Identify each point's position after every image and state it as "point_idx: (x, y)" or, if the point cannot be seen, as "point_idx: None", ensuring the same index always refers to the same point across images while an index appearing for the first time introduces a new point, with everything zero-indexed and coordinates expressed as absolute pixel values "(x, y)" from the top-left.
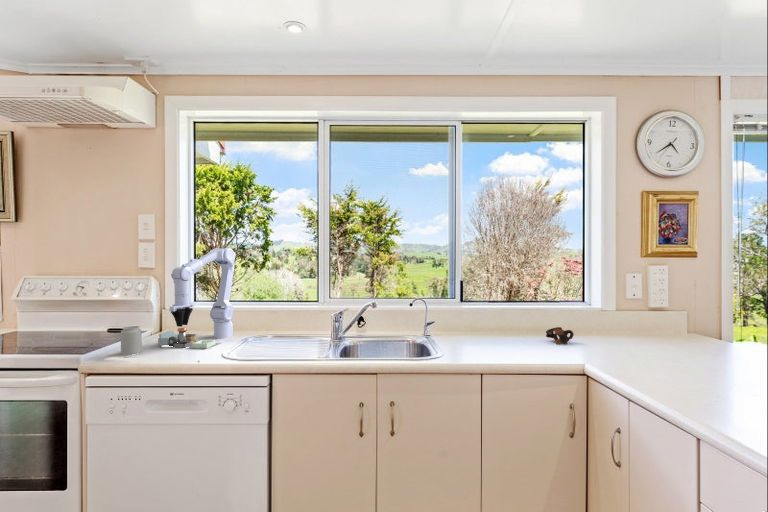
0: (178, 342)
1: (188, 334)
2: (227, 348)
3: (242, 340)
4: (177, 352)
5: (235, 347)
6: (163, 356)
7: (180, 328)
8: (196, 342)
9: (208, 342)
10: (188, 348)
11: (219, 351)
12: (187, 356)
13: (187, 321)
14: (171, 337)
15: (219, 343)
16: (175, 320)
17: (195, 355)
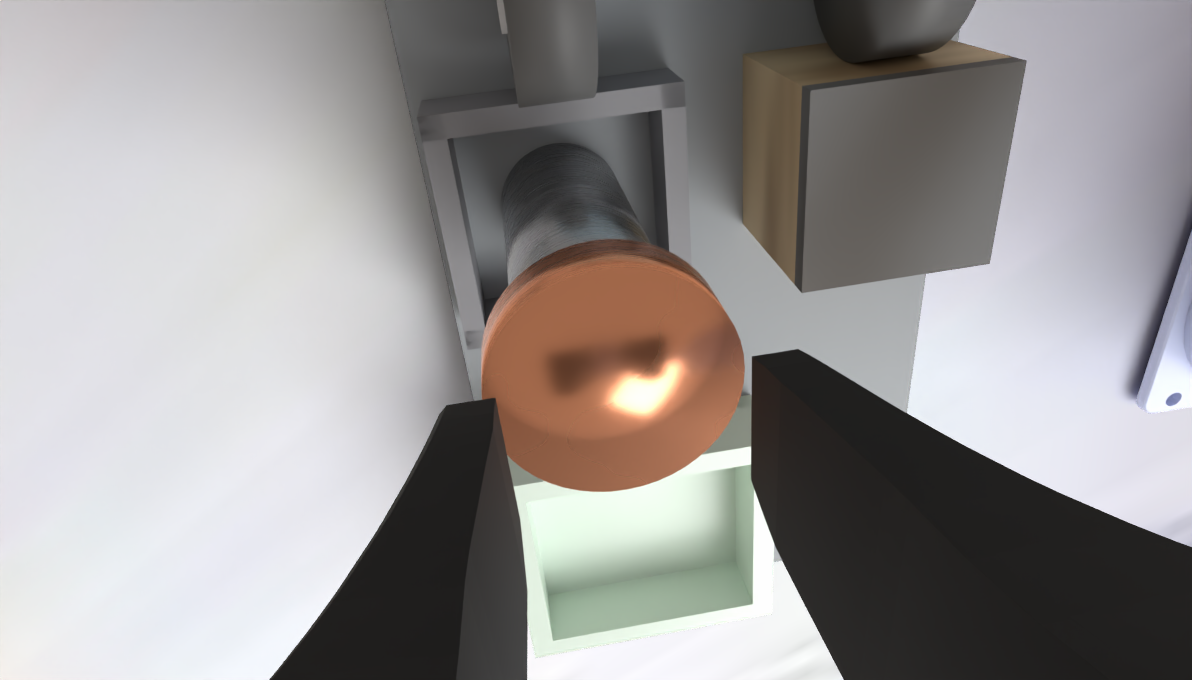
0: (608, 93)
1: (950, 132)
2: (739, 638)
3: (1164, 535)
4: (350, 261)
5: (797, 669)
6: (27, 252)
7: (593, 350)
8: (581, 492)
9: (742, 522)
10: (475, 387)
11: (587, 657)
12: (232, 540)
13: (804, 584)
14: (506, 4)
15: None
16: (367, 556)
17: (321, 580)
